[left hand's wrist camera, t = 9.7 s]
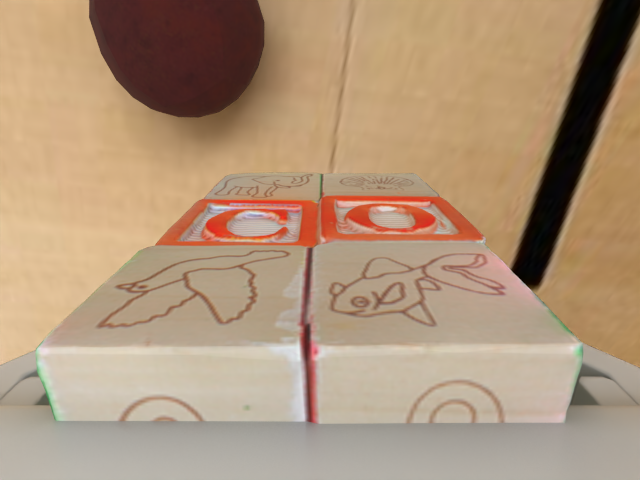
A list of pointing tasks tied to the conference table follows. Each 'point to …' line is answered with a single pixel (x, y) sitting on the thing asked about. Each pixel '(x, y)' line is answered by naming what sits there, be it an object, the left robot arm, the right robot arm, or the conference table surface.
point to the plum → (180, 50)
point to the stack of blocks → (313, 316)
